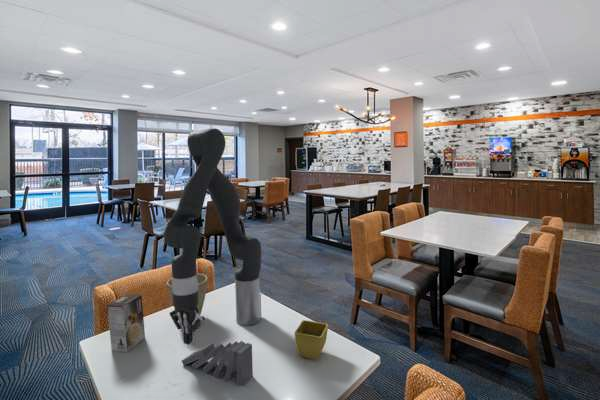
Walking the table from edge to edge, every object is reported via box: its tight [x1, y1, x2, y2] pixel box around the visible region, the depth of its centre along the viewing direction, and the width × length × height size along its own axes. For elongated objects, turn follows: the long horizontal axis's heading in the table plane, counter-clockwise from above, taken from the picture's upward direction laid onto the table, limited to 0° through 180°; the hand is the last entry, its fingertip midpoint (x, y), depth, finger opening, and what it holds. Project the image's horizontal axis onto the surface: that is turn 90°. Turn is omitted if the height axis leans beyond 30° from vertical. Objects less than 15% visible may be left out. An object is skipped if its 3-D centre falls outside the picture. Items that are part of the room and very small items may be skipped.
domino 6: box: [236, 342, 254, 387], centre depth 94 cm, size 5×2×10 cm, turn 153°
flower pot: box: [294, 319, 329, 361], centre depth 107 cm, size 9×9×9 cm
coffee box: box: [106, 293, 146, 353], centre depth 113 cm, size 9×6×16 cm
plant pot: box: [166, 272, 208, 316], centre depth 132 cm, size 15×15×16 cm
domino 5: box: [224, 340, 247, 383], centre depth 96 cm, size 5×2×10 cm, turn 153°
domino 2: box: [191, 343, 225, 370], centre depth 100 cm, size 5×2×10 cm
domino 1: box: [181, 342, 216, 366], centre depth 102 cm, size 5×2×10 cm
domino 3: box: [202, 342, 233, 374], centre depth 99 cm, size 5×2×10 cm
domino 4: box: [212, 341, 239, 378], centre depth 97 cm, size 5×2×10 cm
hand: (188, 342), depth 104 cm, fingers closed
